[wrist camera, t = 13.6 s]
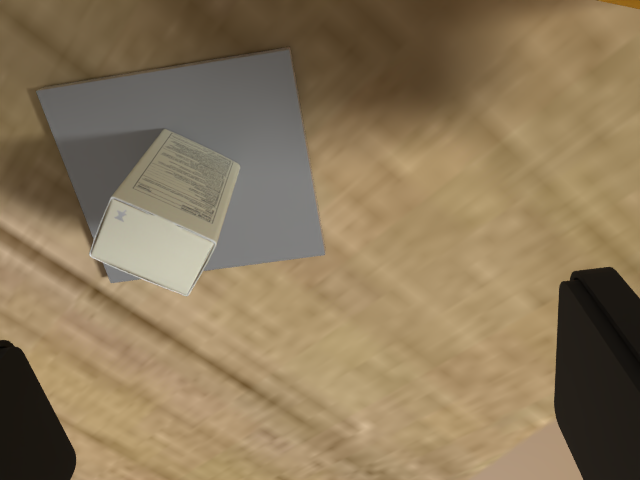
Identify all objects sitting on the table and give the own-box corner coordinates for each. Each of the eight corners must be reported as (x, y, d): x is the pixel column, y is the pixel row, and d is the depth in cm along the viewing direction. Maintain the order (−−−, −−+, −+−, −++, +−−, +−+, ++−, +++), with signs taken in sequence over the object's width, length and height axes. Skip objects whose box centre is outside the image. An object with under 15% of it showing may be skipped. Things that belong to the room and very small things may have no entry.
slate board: (290, 46, 39) (289, 49, 38) (325, 247, 46) (325, 254, 45) (43, 87, 40) (35, 90, 39) (115, 275, 47) (110, 283, 46)
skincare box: (143, 175, 42) (80, 255, 31) (164, 125, 40) (104, 192, 29) (222, 212, 43) (187, 301, 32) (246, 165, 41) (217, 244, 31)
